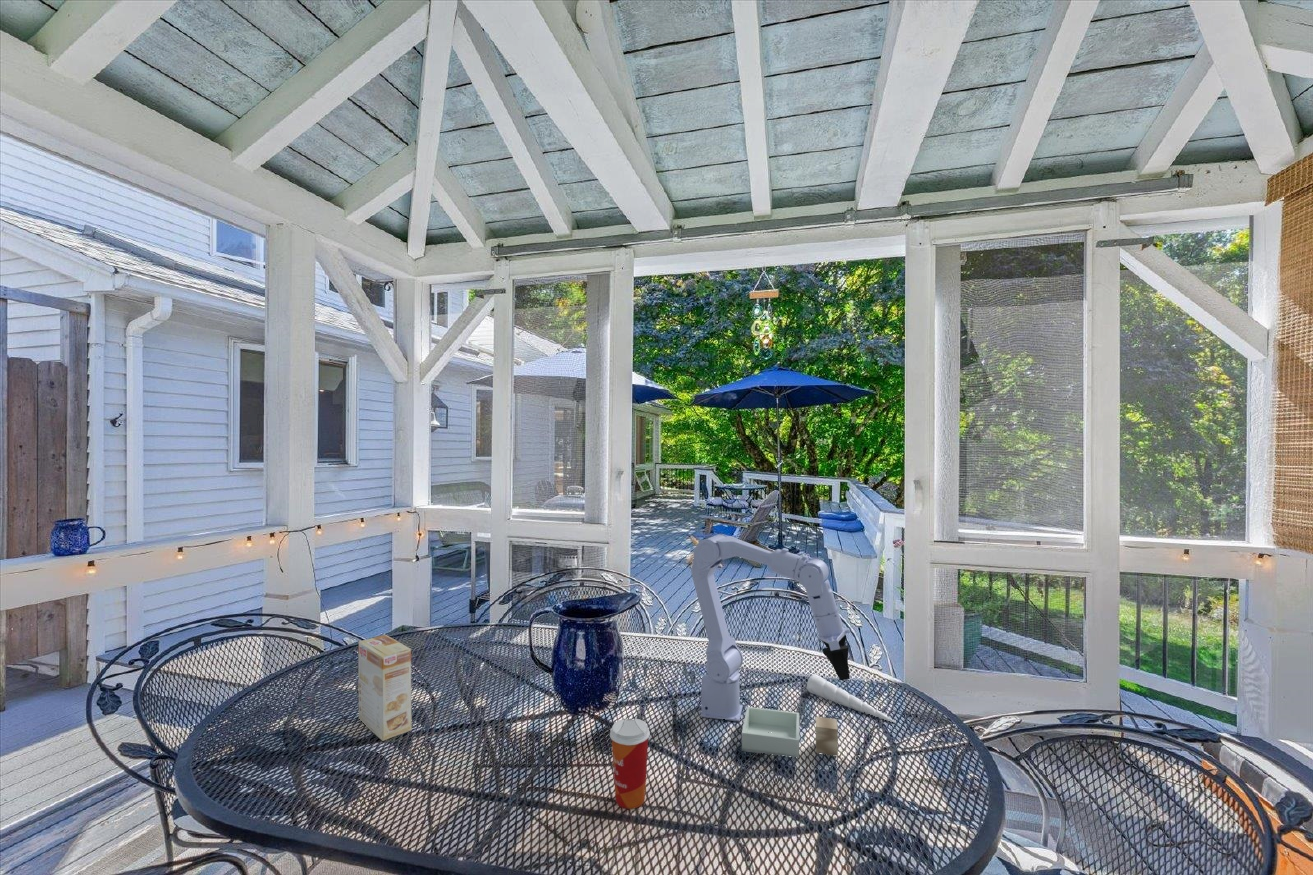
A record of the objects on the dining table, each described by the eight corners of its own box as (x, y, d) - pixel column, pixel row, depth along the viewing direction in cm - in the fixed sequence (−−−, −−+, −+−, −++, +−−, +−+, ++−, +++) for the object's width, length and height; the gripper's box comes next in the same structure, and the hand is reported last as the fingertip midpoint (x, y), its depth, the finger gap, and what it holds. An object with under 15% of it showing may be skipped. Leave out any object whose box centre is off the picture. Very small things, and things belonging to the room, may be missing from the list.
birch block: (816, 754, 123) (816, 726, 123) (815, 743, 127) (815, 716, 127) (837, 757, 122) (837, 729, 122) (836, 745, 126) (836, 719, 126)
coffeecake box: (412, 730, 134) (412, 648, 134) (381, 742, 129) (381, 657, 128) (387, 709, 144) (386, 633, 144) (357, 720, 139) (356, 641, 139)
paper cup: (610, 788, 111) (609, 717, 111) (648, 785, 112) (648, 715, 112) (610, 814, 104) (609, 739, 103) (651, 812, 104) (651, 736, 104)
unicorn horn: (887, 730, 133) (887, 709, 133) (805, 694, 152) (805, 676, 152) (898, 723, 136) (898, 704, 136) (816, 689, 155) (816, 671, 155)
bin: (741, 750, 124) (741, 732, 124) (747, 723, 136) (747, 706, 136) (798, 758, 121) (798, 740, 121) (799, 729, 133) (799, 712, 133)
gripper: (845, 616, 120) (865, 681, 118) (841, 602, 134) (859, 660, 132) (812, 623, 122) (831, 687, 120) (812, 608, 136) (829, 665, 134)
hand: (843, 673), depth 126 cm, fingers open, 7 cm apart
